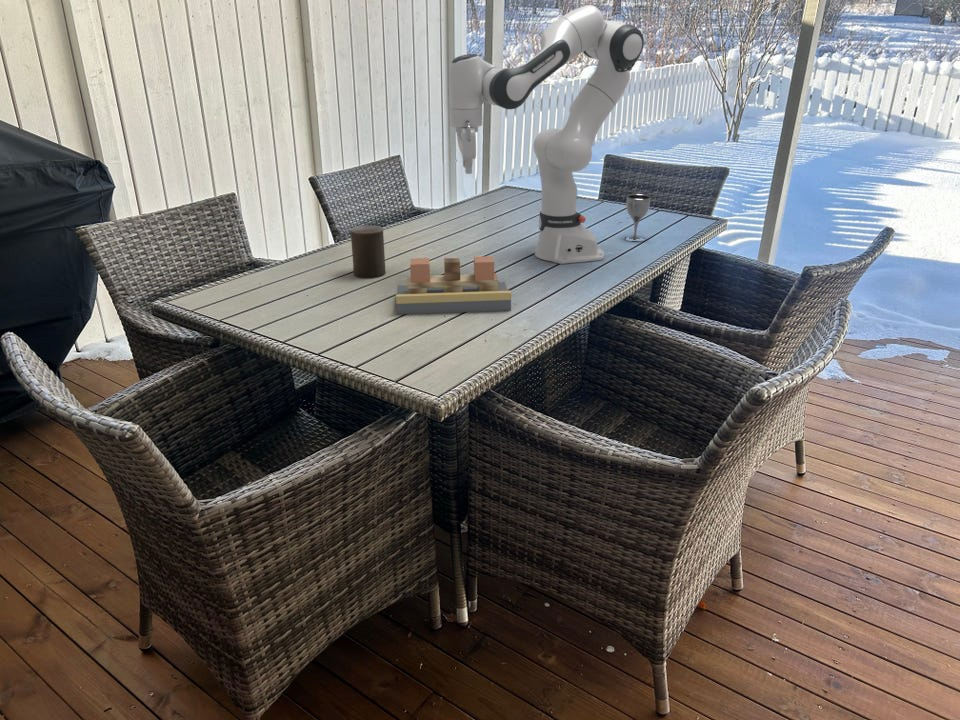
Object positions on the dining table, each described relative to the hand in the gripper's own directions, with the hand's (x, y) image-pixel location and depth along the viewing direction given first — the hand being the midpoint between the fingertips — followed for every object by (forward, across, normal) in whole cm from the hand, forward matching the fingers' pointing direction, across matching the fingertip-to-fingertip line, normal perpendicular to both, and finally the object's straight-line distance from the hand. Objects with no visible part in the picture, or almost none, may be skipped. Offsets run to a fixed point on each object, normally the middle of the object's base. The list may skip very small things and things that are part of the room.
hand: (467, 170), depth 192 cm
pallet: (+28, -24, +6) cm, 37 cm away
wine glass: (+32, +31, -61) cm, 75 cm away
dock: (+31, -24, +6) cm, 40 cm away
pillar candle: (+31, +3, +30) cm, 43 cm away
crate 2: (+24, -24, -2) cm, 34 cm away
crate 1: (+24, -24, +15) cm, 37 cm away
